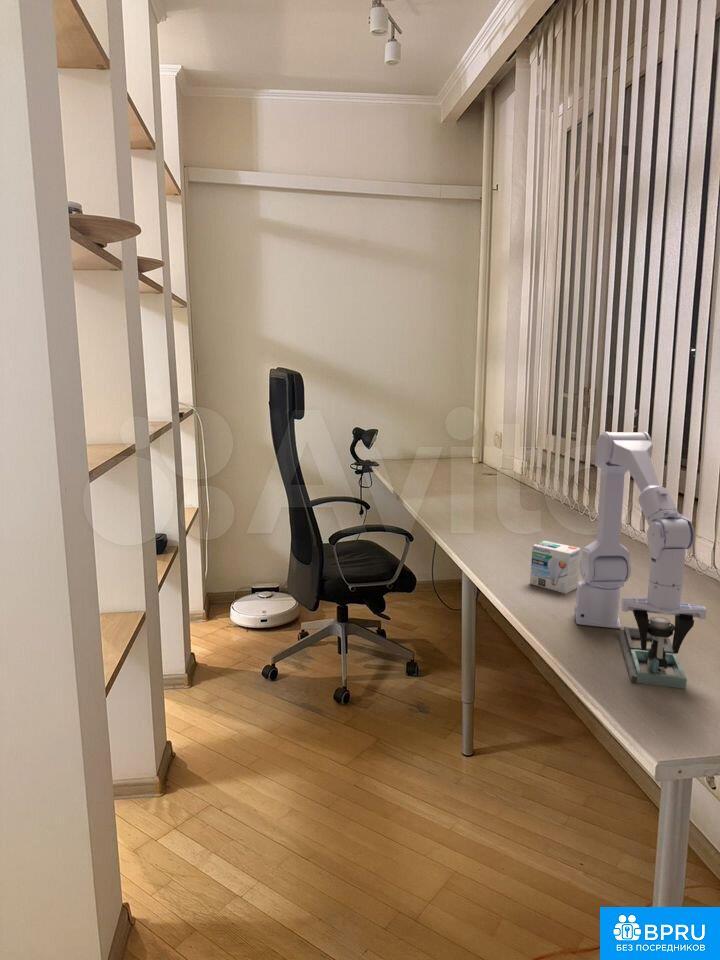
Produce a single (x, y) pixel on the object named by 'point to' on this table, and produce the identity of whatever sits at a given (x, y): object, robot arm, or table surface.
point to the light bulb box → (555, 566)
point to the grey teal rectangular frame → (638, 654)
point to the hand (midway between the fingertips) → (658, 649)
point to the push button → (658, 643)
